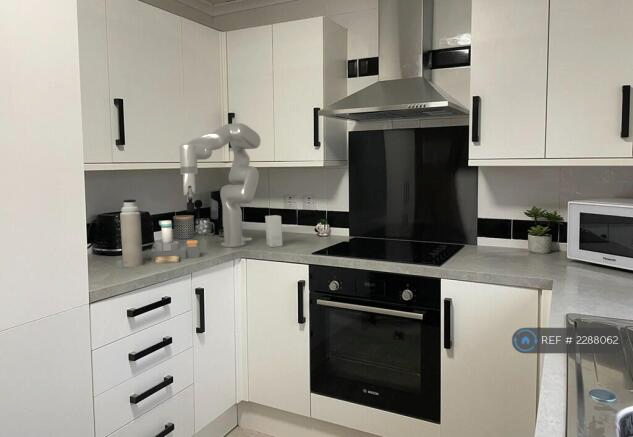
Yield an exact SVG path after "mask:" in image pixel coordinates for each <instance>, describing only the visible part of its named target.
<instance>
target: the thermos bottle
mask: <svg viewBox="0 0 633 437" xmlns="http://www.w3.org/2000/svg"><path fill="white" fill-rule="evenodd" d="M136 202H137V200H136V199H123V207H121V210H120V211H121V212H120V213H119V214H120V215H119V219H120V220H119V221H120V236H121V250H122V251H121V252H122V256H121V257H122V266H123V267H127V268H133V267H134V268H135V267H139V266H140V267H141V266H142V265H144V259H143V245H142V244H143V240H142V239H143V238H142V227H141V226H142V223H141V221H142V220H141V212H139V207H138V206H137V203H136Z"/></svg>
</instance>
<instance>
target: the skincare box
mask: <svg viewBox="0 0 633 437" xmlns="http://www.w3.org/2000/svg"><path fill="white" fill-rule="evenodd" d="M264 218H265V237H266V246H267V247H270V248H279V247H280V248H281V247H284V246H283V232H282V231H283V228H282V216H281V215H278V214H277V215H276V214H275V215H265V216H264Z"/></svg>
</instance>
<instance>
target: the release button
mask: <svg viewBox="0 0 633 437" xmlns="http://www.w3.org/2000/svg"><path fill="white" fill-rule="evenodd" d="M197 244H198V239H196V240H186V245H188V247H191V246H197Z"/></svg>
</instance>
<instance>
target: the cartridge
mask: <svg viewBox="0 0 633 437" xmlns="http://www.w3.org/2000/svg"><path fill="white" fill-rule="evenodd" d="M158 224H159V226H160V228H161V242H162V244H170V243H172V241H173V229H172V227H173V222H172V220H171V219H170V220H169V219H167V220H158Z"/></svg>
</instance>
